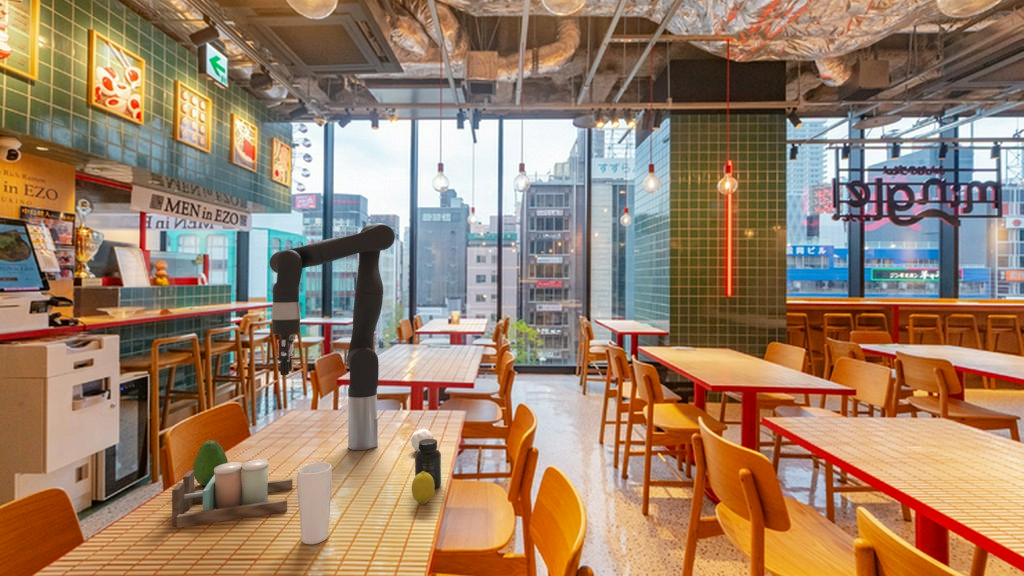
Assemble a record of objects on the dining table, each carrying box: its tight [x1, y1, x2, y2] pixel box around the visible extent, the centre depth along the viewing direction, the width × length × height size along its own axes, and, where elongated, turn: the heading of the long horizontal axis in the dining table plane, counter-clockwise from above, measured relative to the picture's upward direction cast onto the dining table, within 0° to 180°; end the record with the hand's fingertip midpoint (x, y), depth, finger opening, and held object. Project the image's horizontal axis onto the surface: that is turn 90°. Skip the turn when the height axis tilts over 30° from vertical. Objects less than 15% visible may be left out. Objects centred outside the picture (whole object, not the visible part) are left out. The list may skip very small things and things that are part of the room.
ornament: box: [410, 427, 434, 452], centre depth 152 cm, size 7×7×8 cm
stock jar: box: [214, 461, 243, 509], centre depth 113 cm, size 6×6×10 cm
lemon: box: [411, 471, 436, 505], centre depth 114 cm, size 6×6×8 cm
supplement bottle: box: [414, 438, 442, 491], centre depth 125 cm, size 7×7×12 cm
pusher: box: [184, 474, 215, 511], centre depth 111 cm, size 8×11×6 cm
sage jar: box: [242, 458, 270, 505], centre depth 115 cm, size 6×6×10 cm
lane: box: [171, 469, 294, 529], centre depth 114 cm, size 23×14×8 cm, turn 110°
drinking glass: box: [296, 461, 333, 545], centre depth 99 cm, size 7×7×15 cm
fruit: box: [192, 439, 229, 487], centre depth 127 cm, size 8×8×12 cm
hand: (286, 372), depth 139 cm, fingers open, 8 cm apart
